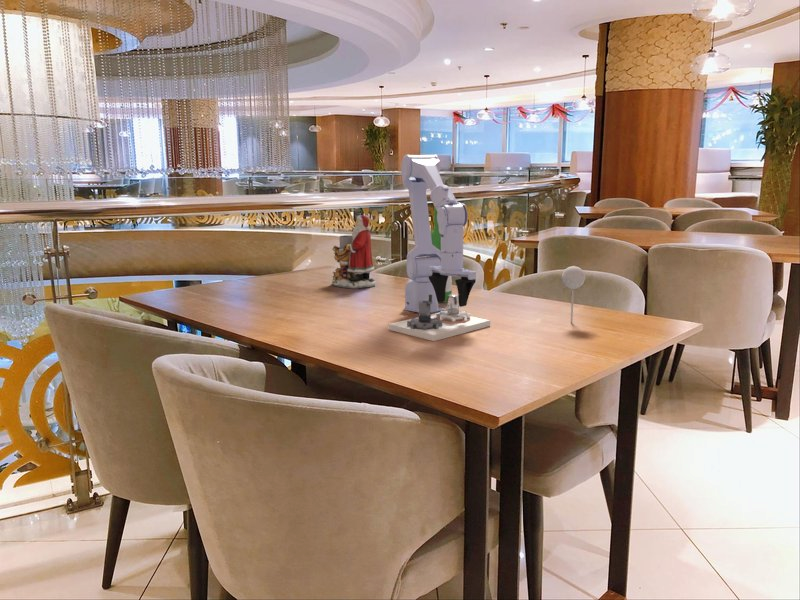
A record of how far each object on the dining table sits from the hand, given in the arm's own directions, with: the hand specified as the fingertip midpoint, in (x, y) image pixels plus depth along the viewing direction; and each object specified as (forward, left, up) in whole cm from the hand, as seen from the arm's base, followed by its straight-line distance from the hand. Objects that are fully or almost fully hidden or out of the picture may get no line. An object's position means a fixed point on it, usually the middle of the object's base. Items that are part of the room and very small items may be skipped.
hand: (451, 303), depth 168 cm
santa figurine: (-65, +20, -6) cm, 68 cm away
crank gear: (0, -10, -4) cm, 11 cm away
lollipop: (+21, +24, -6) cm, 32 cm away
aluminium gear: (0, +1, -4) cm, 4 cm away
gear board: (0, -4, -6) cm, 7 cm away
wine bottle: (-24, +20, -6) cm, 32 cm away
